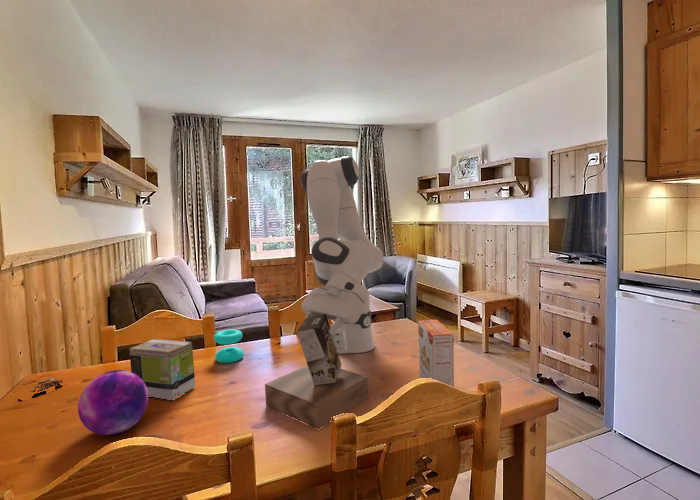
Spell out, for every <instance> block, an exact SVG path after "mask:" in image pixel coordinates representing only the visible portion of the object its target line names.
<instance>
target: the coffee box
mask: <svg viewBox="0 0 700 500" xmlns="http://www.w3.org/2000/svg"><path fill="white" fill-rule="evenodd" d="M329 322H330V321H329V319H327V316H326V314H323V315H318V316H314V317H310V318H306V317H305V319H304V320H303V322H302V323H301V325H300V326H299V328H298V330H297V331H296V332H297V333H296V334H297V336H298V339H299V340H298V341H299V343H300V345H301V349H302V351H303V355H304V358H305V361H306V364H307V365H308V368H309V371H310V374H311V377H312V381H313V384H314V385H321V384H327V383H334V382H335V381H336V379H337V376H338V373H339V371H340V369H342V368H341V367H342V361H341V359H340V354H339V353H338V351H337V348H336V345H335V342H334V339H333V335H330V334H328V333H327V332H326V330H327V329H328V326H330V323H329ZM307 365H306V366H307Z"/></svg>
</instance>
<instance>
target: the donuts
mask: <svg viewBox="0 0 700 500" xmlns="http://www.w3.org/2000/svg"><path fill="white" fill-rule="evenodd" d="M213 339H214V342H215V343H217V344H219V345H226V347H224V348H221V349H219V350H218V351H217V352H216V353H215V354H214V355H215V356H214V357H215V358H214V359H215V360H216V361H217V362H218V363H221V364H229V363H231V364H232V363H235V362H238V361H241V359H242V358H243V357H244V354H245V353H244V350H243V349H242V348H241V347H237V346H228V347H227V345H232V344H235V343H239V342H240V341H241V340H242V339H243V332H242V331H241V330H240V329H236V328H235V329H233V328H232V329H229V328H228V329H223V330H220V331H218V332H216V333H215V334H214V336H213Z"/></svg>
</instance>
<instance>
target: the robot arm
mask: <svg viewBox="0 0 700 500" xmlns="http://www.w3.org/2000/svg"><path fill="white" fill-rule="evenodd" d="M359 174H360V168H359V165H358V163H357V162H356V160H355V159H354V158H353V157H352V156H351V155H346V156H341V157H338V158H333V159H329V160H325V159H320V160H315V161H314V162H313V163H311V165H310V166H309V167H307V168H306V169H304V170H302V172H301V174H300V177H299V178H300V185H301V187H302V190H303V191H304V193H305V194H306V196H307V202H308V204H309V208H310V211H311V214H312V216H313V220H314V223H315V225H316V228H317V233H318V240H317V241H315V243H313V245H312V246H311V251H310V252H311V259H312V261H313V265H314V269H315V270H314V271H315V277H316V279H317V281H318V283H320V284H321V285H319V286H317V287H315V288H313V289H312V290H311V291H310V292H309V293H308V294H307V295H306V297H305V298H304V300H303V301H302V302H301V304H300V306H301V307H300V308H301V309H302V311H303V312H304V313H305V319H306V318H310V317H314V316H318V315H323V314H326V316H327V319H328V320H331V321H335V322H334V323H332V324H331V325H329V326H328V329H327V330H326V332H327V333H328V334H330V335H333V339H334V342H335V345H336V348H337V351H338V355H341V354H342V355H345V354H361V353H366V352H369V351H370V352H371V351H372V350H374V349H375V348H376V345H375V342H374V336H373V332H372V331H373V330H372V325H371V323H372V311H371V306H370V291H369V289H368V288H367V287H366V286H364V285H363V284H361V283H362V282H363V280H364V279H365V278H366V277H367V276H368V274H371V273H374V272H375V271H376V272H377V271H378V270H380V269H381V268H382V267H383V265H384V253H383V251H382V250H381V248H380V247H378V246H377V245H375V244H374V243H373V242H372V241H371V240H370V239H369V238H368V235H366V233H365V232H364V229H363V227H362V223H361V221H360V216H359V212H358V208H357V204H356V201H355V198H354V196H353V192H352V191H351V190H353V189H354V188H355V185H356V184H357V183H358V180H359V178H360V175H359ZM323 285H324V286H323Z"/></svg>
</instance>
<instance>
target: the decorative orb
mask: <svg viewBox="0 0 700 500" xmlns="http://www.w3.org/2000/svg"><path fill="white" fill-rule="evenodd" d="M148 403H149V398H148V390H147V387H146V385H145V383H144V381H143V380H142V379H141V378H140V377H139V376H137V375H136V374H134V373H132V372H131V371H129V370H122V369H117V370H116V369H115V370H111V371H107V372H104V373H101V374H100V375H98V376H96V377H95V378H94V379H92V380H91V381H89V382H88V384H87V385H86V386H85V388H84V389H83V391H82V392H81V394H80V396H79V400H78V404H77V412H78V417H79V420H80V422H81V423H82V425H83V426H84V427H85V428H86V429H87V430H89V431H90V432H91V433H94V434H98V435H100V436H113V434H114V435H117V433H118V434H121V433H123V432H126V431H127V430H129V429H131V428H132V427H133V426H134V425H136V424H137V423H138V422H139V421H140V419H142V417H143V415H144V413H145V412H146V411H147V407H148ZM120 432H121V433H120Z"/></svg>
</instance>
